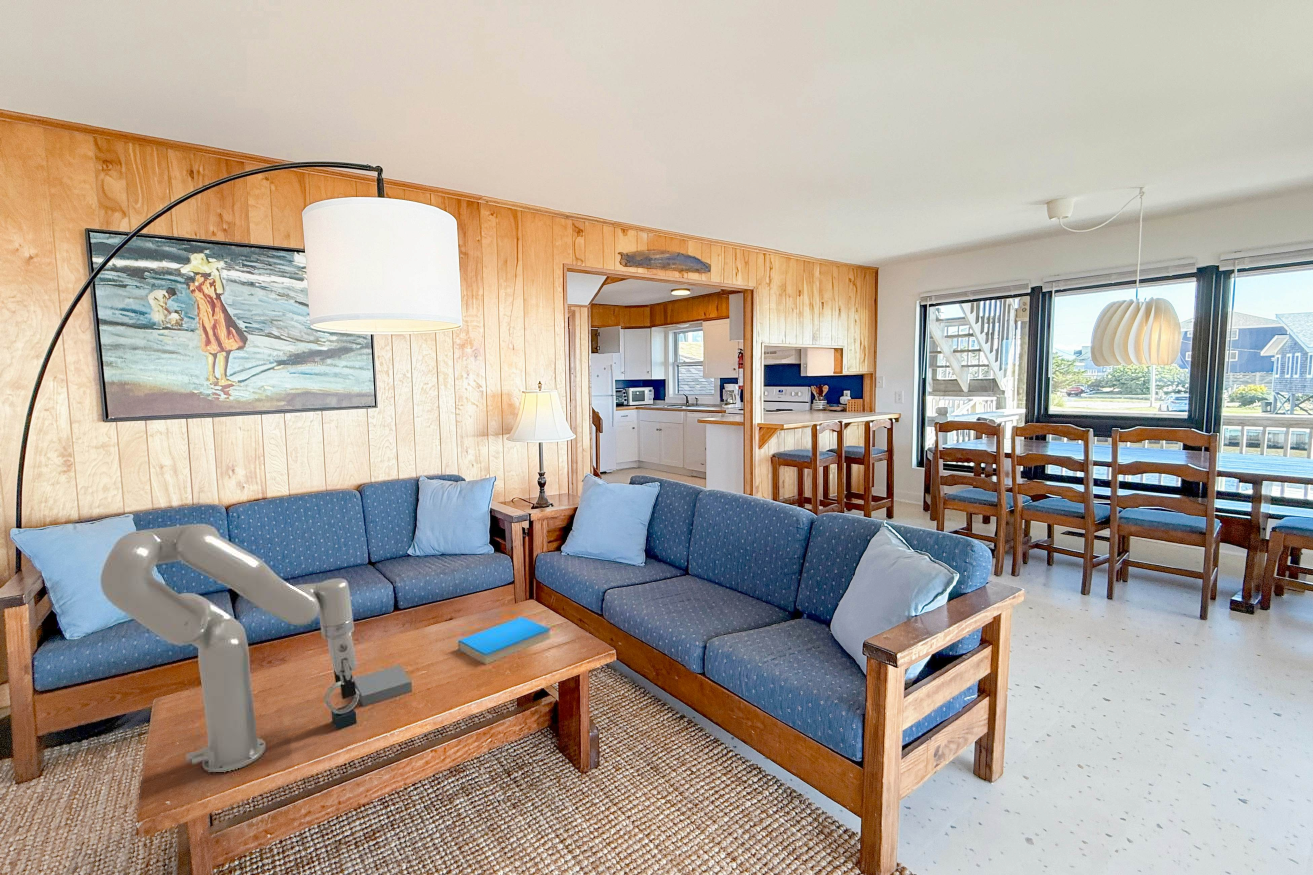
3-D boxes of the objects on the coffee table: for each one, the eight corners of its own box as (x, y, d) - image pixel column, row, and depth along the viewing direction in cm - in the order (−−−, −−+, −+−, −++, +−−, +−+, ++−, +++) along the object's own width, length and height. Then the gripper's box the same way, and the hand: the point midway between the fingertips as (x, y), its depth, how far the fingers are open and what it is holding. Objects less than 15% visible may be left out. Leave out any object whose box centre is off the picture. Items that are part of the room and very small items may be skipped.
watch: (364, 720, 165) (361, 680, 163) (331, 732, 159) (328, 692, 158) (357, 712, 169) (353, 673, 168) (324, 724, 163) (321, 684, 162)
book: (550, 628, 212) (486, 653, 194) (551, 640, 212) (486, 666, 194) (520, 616, 223) (457, 638, 205) (521, 627, 224) (458, 651, 206)
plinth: (363, 706, 172) (362, 696, 171) (354, 687, 182) (353, 678, 182) (412, 691, 179) (411, 681, 179) (400, 674, 190) (399, 664, 189)
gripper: (359, 633, 156) (368, 697, 159) (347, 613, 170) (354, 672, 173) (326, 643, 152) (335, 708, 154) (316, 621, 166) (324, 681, 168)
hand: (345, 689), depth 163 cm, fingers open, 9 cm apart
